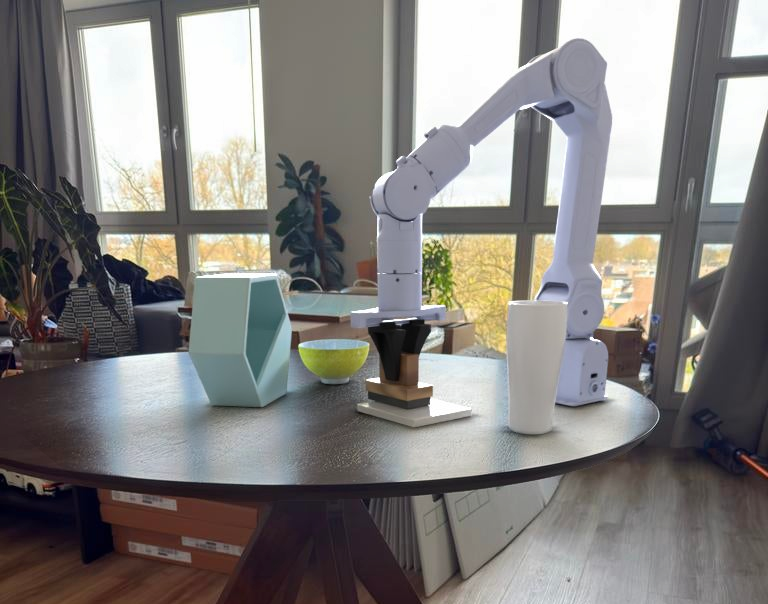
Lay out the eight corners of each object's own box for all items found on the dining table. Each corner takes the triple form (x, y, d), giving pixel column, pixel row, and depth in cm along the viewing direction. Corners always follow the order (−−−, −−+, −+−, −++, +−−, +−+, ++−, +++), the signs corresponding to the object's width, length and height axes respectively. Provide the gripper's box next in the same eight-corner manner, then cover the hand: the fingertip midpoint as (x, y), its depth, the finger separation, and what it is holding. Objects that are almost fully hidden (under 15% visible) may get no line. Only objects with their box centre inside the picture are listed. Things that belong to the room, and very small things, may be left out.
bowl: (339, 391, 111) (337, 350, 109) (285, 383, 118) (283, 344, 116) (383, 380, 120) (383, 342, 118) (331, 373, 126) (330, 337, 124)
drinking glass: (546, 440, 83) (556, 305, 78) (492, 432, 87) (498, 303, 81) (566, 427, 89) (576, 301, 83) (514, 421, 92) (521, 299, 87)
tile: (471, 415, 95) (472, 408, 95) (413, 427, 89) (413, 419, 89) (413, 401, 104) (413, 394, 104) (357, 411, 98) (356, 404, 98)
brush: (432, 405, 97) (433, 354, 94) (406, 410, 94) (407, 358, 92) (390, 394, 103) (390, 347, 101) (365, 399, 101) (364, 350, 98)
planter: (272, 434, 105) (231, 320, 89) (222, 431, 107) (173, 319, 90) (299, 355, 115) (267, 239, 98) (253, 353, 116) (214, 239, 100)
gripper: (422, 270, 100) (421, 369, 105) (335, 274, 91) (338, 381, 96) (457, 272, 95) (454, 375, 99) (368, 276, 86) (370, 389, 91)
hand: (399, 379), depth 97 cm, fingers closed on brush, 2 cm apart
